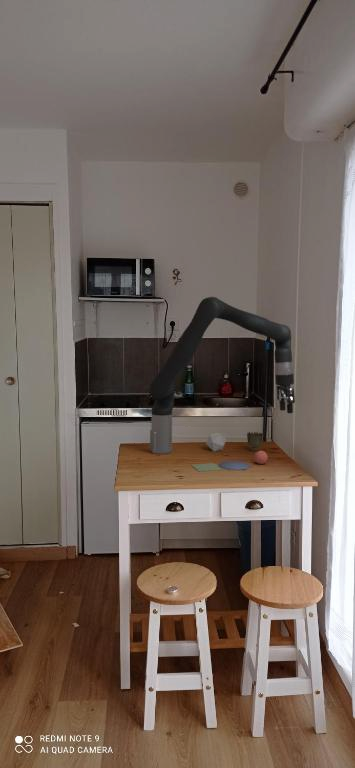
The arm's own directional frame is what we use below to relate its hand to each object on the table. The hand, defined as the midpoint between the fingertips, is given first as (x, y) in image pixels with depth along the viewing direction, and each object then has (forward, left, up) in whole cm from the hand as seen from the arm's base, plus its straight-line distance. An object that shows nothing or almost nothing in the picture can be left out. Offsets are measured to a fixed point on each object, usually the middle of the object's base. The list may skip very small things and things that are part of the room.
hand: (286, 411), depth 241 cm
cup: (-3, +23, -22) cm, 32 cm away
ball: (-10, +1, -19) cm, 22 cm away
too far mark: (-34, +1, -22) cm, 41 cm away
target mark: (-22, +1, -22) cm, 31 cm away
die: (-20, +28, -22) cm, 41 cm away
